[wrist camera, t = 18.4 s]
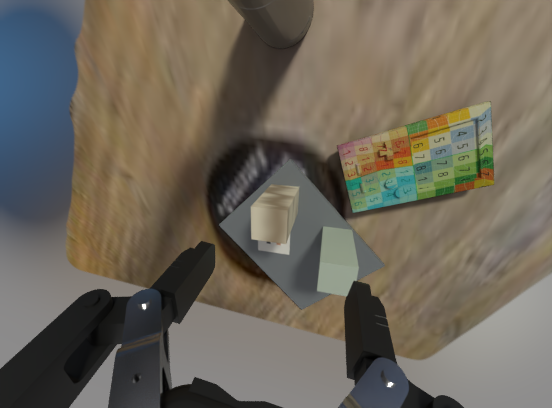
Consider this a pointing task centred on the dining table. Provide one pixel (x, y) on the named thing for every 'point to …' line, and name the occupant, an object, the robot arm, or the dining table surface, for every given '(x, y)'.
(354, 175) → the puzzle game
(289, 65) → the dining table surface
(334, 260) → the sage block
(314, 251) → the board
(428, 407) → the robot arm
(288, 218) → the birch block
